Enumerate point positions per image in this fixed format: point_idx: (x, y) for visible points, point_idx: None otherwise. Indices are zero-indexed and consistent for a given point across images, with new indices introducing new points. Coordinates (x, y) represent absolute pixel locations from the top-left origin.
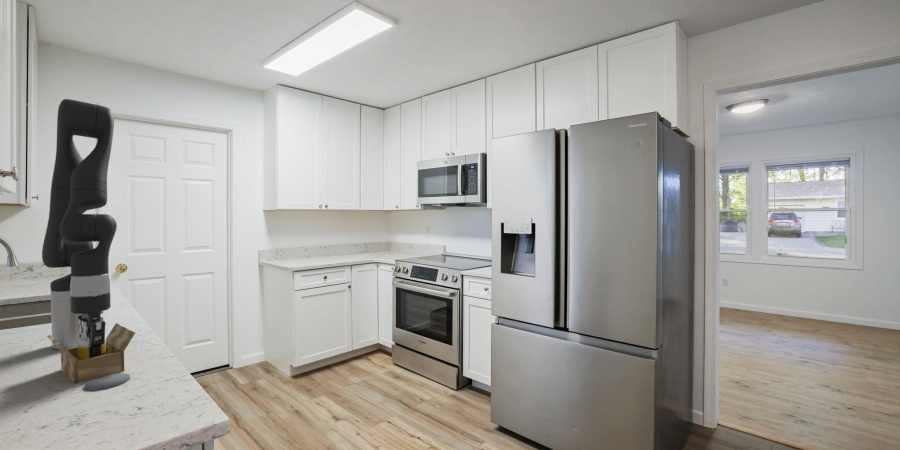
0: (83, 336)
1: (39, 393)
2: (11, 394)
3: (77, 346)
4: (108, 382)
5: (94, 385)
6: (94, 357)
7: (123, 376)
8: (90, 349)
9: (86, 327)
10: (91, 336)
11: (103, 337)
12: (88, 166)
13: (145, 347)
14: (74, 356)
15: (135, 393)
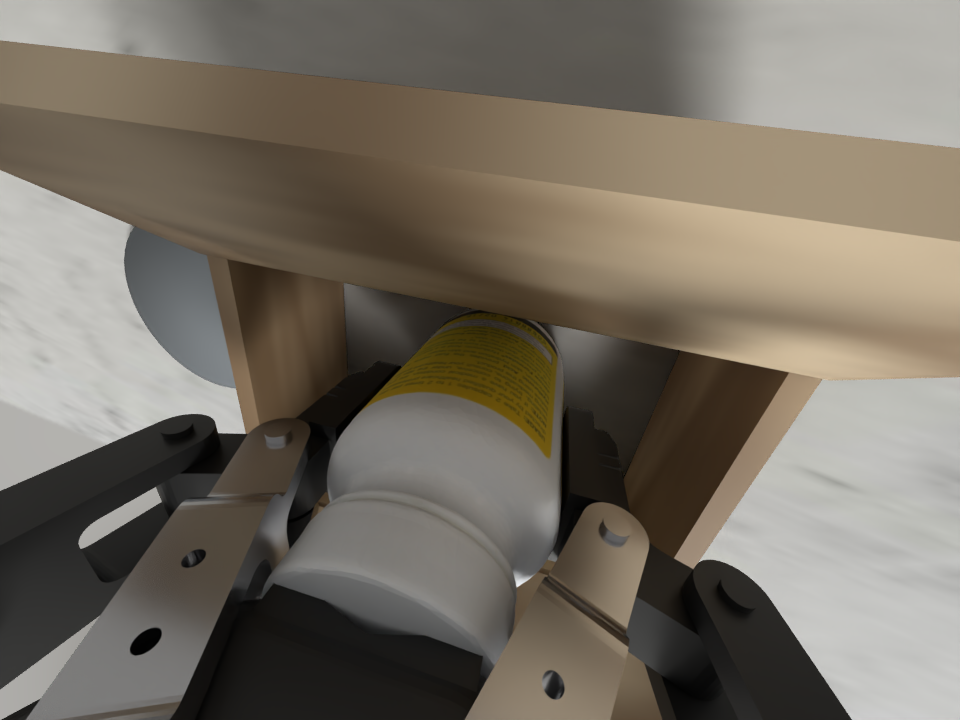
0: (336, 522)
1: (295, 5)
2: None
3: (471, 402)
4: (170, 295)
5: (165, 243)
6: (236, 360)
7: (210, 363)
8: (321, 413)
9: (56, 717)
10: (28, 498)
11: (116, 540)
12: None
13: None
14: (709, 392)
15: (28, 295)
